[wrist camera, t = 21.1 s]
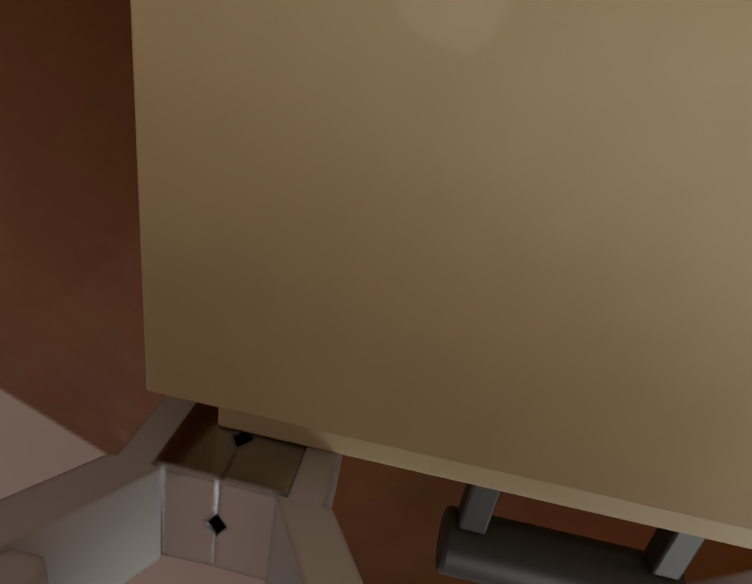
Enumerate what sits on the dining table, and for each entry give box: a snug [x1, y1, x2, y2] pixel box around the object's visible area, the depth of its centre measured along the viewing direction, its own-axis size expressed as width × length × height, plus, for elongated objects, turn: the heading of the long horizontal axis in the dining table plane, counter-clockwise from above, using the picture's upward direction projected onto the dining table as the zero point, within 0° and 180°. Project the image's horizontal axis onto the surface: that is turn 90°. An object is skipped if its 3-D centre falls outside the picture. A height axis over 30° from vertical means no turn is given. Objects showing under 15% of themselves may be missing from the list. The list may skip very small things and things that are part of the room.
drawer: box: [218, 408, 752, 584], centre depth 9 cm, size 18×13×7 cm
